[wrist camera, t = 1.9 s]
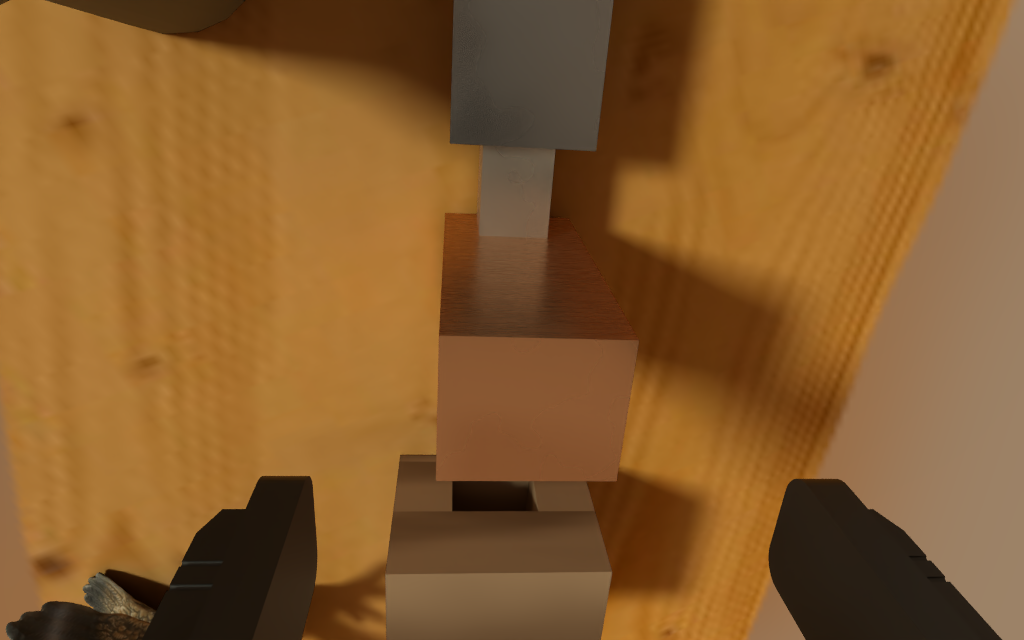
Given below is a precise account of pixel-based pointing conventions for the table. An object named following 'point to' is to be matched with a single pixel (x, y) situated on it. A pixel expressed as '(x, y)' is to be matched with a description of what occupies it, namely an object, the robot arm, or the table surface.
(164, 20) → the olive green pawn
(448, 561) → the socket block
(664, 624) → the table surface
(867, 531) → the robot arm
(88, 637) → the eagle figurine
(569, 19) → the sleeve
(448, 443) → the bar
